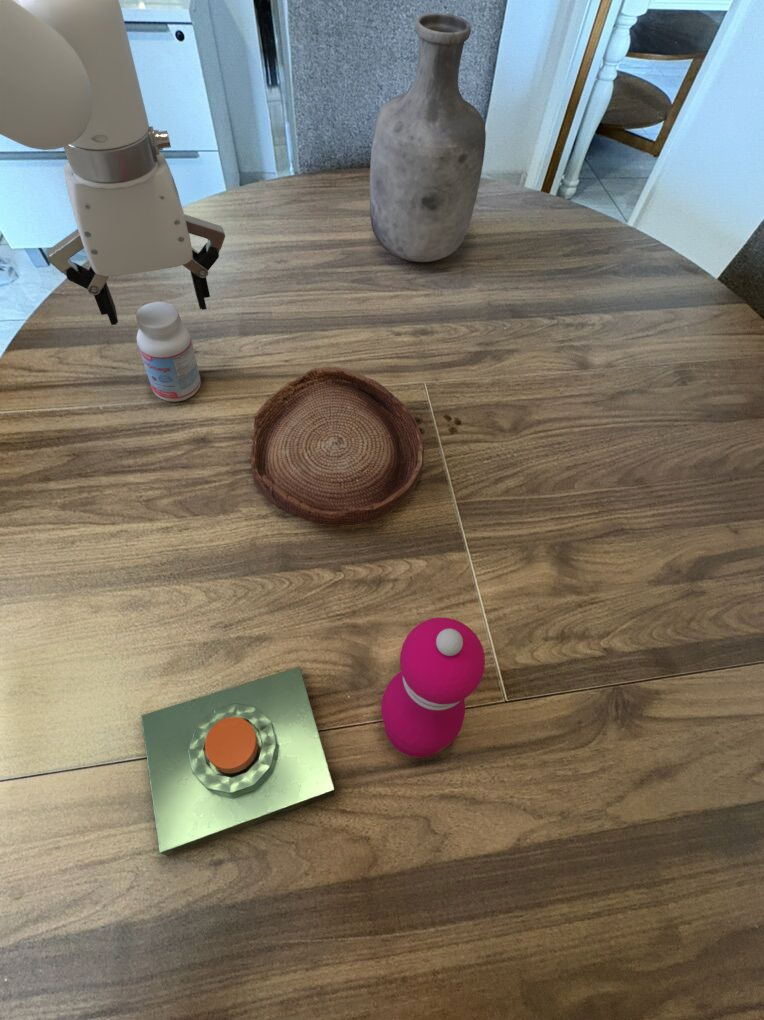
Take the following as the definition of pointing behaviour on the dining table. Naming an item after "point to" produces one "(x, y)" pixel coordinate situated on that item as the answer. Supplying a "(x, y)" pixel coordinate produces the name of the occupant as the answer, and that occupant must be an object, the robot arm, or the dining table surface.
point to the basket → (335, 448)
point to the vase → (427, 151)
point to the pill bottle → (167, 352)
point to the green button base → (246, 794)
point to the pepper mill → (432, 686)
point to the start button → (231, 745)
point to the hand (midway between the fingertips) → (158, 309)
